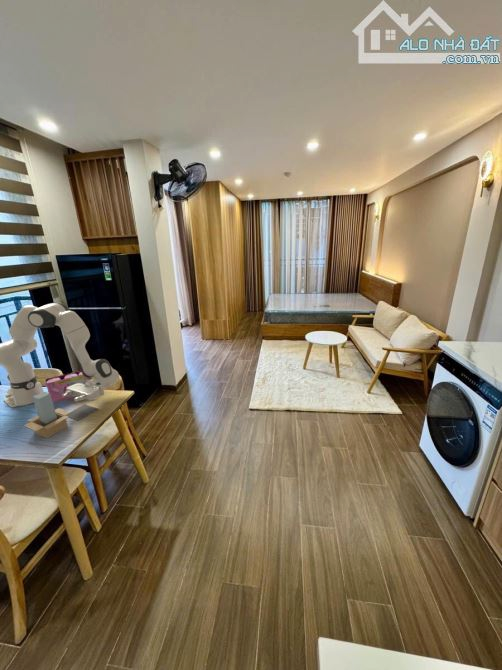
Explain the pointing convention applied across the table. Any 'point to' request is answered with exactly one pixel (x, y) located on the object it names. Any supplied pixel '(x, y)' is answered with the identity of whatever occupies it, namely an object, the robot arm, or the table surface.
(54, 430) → the carton
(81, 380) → the pink multipack
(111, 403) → the table surface
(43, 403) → the pale upright canister
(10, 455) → the table surface
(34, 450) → the table surface
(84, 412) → the mat
